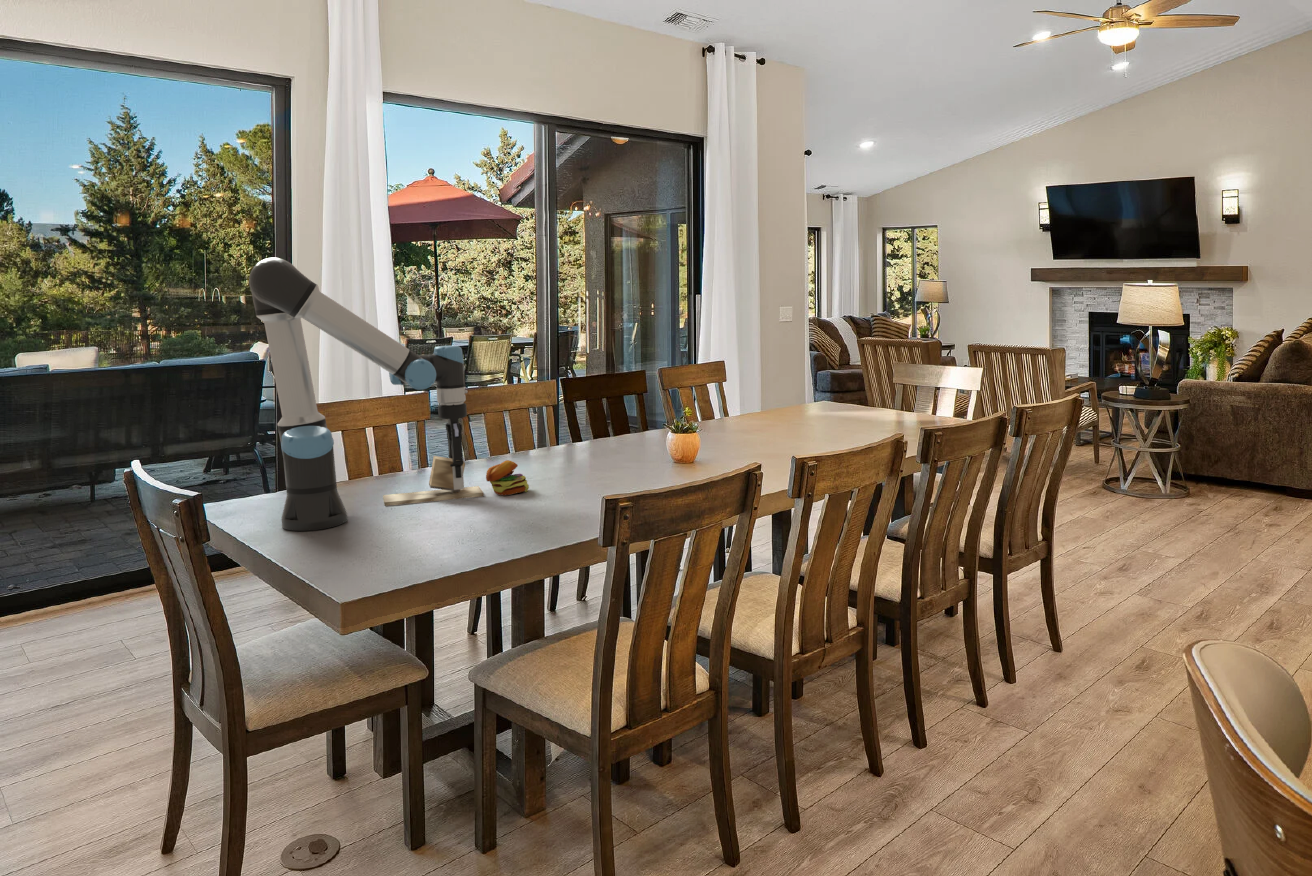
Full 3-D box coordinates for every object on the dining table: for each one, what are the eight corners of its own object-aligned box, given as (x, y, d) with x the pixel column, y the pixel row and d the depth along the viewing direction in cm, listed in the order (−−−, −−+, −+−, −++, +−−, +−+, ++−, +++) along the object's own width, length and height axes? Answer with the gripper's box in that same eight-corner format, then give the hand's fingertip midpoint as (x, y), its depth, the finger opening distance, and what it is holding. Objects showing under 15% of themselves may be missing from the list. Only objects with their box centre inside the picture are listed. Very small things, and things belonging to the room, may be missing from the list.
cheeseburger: (527, 495, 250) (516, 460, 248) (490, 505, 251) (478, 471, 249) (532, 486, 260) (522, 453, 258) (496, 496, 261) (486, 463, 259)
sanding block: (430, 487, 248) (435, 459, 247) (428, 484, 253) (433, 455, 252) (460, 491, 251) (465, 463, 250) (457, 488, 256) (463, 460, 255)
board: (384, 506, 243) (384, 502, 243) (383, 498, 251) (383, 495, 251) (483, 496, 251) (483, 492, 251) (479, 489, 259) (478, 485, 259)
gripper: (470, 406, 242) (475, 492, 246) (462, 398, 259) (467, 479, 263) (441, 408, 239) (447, 495, 243) (434, 400, 256) (440, 481, 260)
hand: (457, 486), depth 253 cm, fingers closed on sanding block, 5 cm apart
